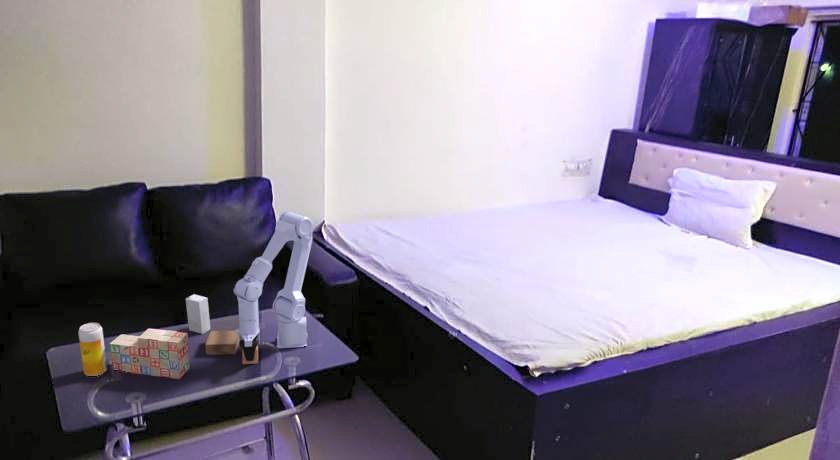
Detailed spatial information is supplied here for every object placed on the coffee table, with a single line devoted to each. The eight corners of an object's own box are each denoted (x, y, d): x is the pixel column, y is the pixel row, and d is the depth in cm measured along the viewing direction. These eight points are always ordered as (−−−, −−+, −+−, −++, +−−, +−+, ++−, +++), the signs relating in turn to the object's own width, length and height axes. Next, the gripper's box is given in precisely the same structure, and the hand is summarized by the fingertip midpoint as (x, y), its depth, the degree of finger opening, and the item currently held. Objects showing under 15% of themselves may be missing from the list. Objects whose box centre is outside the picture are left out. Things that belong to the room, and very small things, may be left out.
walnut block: (239, 341, 203) (239, 330, 202) (235, 355, 194) (235, 343, 193) (211, 341, 202) (210, 331, 200) (206, 355, 193) (205, 344, 192)
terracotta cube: (258, 356, 194) (257, 342, 192) (257, 363, 190) (257, 349, 188) (243, 357, 193) (243, 342, 192) (242, 364, 189) (242, 350, 187)
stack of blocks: (112, 371, 182) (107, 334, 178) (124, 360, 188) (120, 324, 184) (180, 379, 179) (177, 342, 176) (190, 368, 185) (187, 332, 181)
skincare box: (211, 329, 209) (209, 297, 205) (201, 335, 205) (199, 302, 201) (197, 325, 211) (194, 293, 207) (187, 330, 207) (185, 298, 203)
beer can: (85, 368, 182) (79, 323, 177) (108, 365, 184) (102, 321, 179) (82, 379, 177) (76, 333, 172) (106, 376, 179) (100, 330, 174)
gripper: (236, 306, 193) (238, 345, 197) (233, 328, 179) (235, 368, 183) (260, 306, 194) (261, 344, 198) (258, 327, 181) (259, 367, 185)
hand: (250, 356), depth 191 cm, fingers open, 5 cm apart
